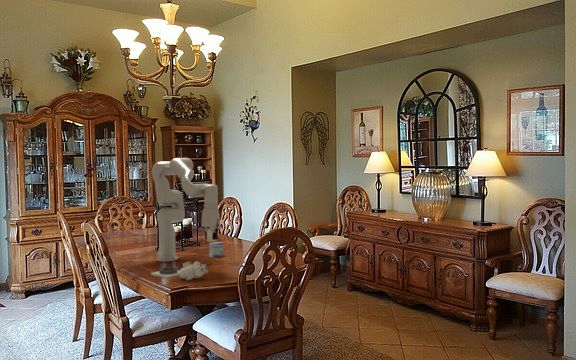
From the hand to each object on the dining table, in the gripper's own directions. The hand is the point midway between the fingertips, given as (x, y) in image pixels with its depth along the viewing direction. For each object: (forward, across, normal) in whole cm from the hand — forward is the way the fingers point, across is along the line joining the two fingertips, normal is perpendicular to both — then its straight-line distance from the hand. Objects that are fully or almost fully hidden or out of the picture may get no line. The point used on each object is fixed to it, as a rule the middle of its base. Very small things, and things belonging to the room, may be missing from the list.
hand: (211, 238), depth 286 cm
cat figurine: (+18, +7, -21) cm, 28 cm away
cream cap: (+2, 0, 0) cm, 2 cm away
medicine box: (+18, -22, +27) cm, 39 cm away
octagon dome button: (+17, -11, -22) cm, 30 cm away
